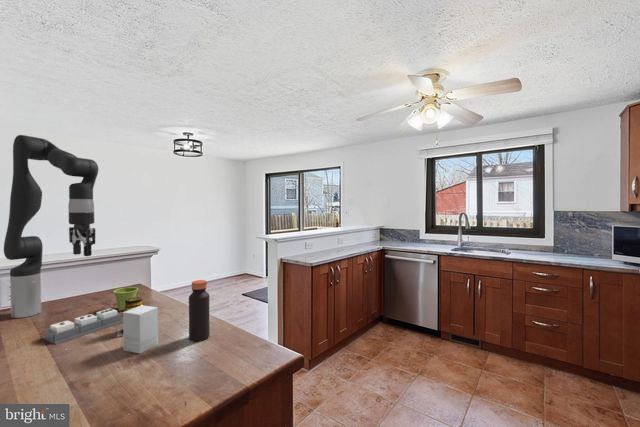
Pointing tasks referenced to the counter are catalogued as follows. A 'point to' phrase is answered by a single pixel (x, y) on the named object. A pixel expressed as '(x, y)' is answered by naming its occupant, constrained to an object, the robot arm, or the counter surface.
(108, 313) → the tile three
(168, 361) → the counter surface
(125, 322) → the supplement box
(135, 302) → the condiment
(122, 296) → the plant pot
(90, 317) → the tile two
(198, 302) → the bottle
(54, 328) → the tile one
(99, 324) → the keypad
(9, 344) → the counter surface
